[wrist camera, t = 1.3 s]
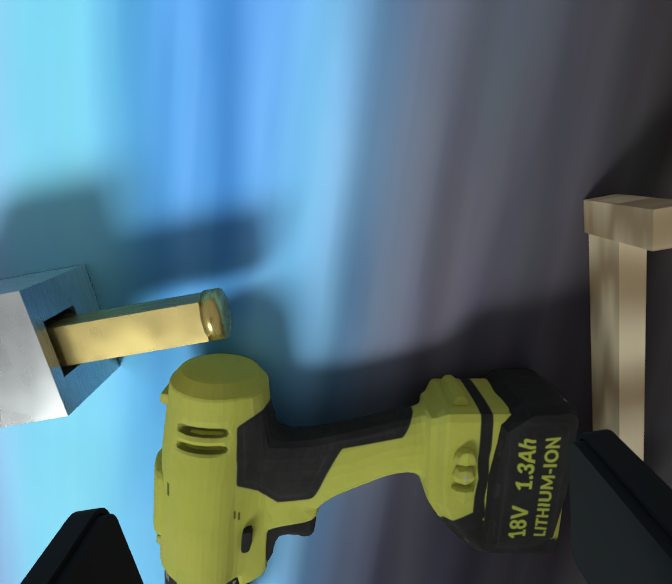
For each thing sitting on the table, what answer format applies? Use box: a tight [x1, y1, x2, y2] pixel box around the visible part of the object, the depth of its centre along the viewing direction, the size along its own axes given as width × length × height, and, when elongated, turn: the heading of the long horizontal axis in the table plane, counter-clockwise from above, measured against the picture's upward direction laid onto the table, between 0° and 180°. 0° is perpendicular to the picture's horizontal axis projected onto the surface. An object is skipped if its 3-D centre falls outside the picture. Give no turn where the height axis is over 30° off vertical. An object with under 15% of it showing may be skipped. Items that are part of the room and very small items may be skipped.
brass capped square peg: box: [45, 288, 232, 367], centre depth 25 cm, size 3×10×3 cm, turn 100°
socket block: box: [0, 264, 120, 427], centre depth 26 cm, size 7×7×6 cm
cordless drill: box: [153, 353, 579, 584], centre depth 30 cm, size 7×25×25 cm
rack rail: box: [584, 194, 672, 461], centre depth 27 cm, size 24×2×6 cm, turn 10°
